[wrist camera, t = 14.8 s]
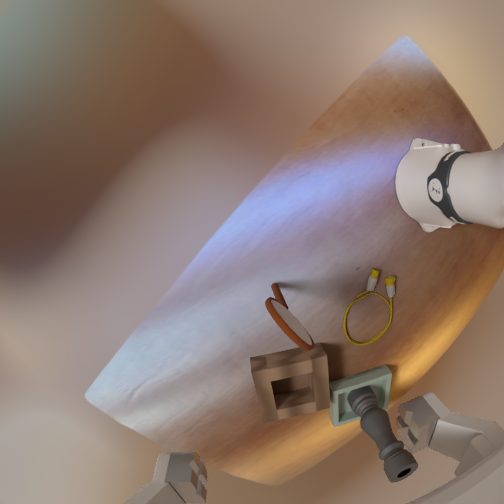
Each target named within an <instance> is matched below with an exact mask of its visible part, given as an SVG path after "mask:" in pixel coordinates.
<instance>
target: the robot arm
mask: <svg viewBox="0 0 504 504" xmlns="http://www.w3.org/2000/svg"><path fill="white" fill-rule="evenodd" d="M422 144H423V146H422ZM396 192H397V196H398V199H399V202H400V204H401V206H402V208H403V209H404V211H405V212H406V213H407V214H408V215H409V216H410V217H412V218H413V219H415V220H416V221H418V222H419V224H420V225H421V227H422V228H423V230H424V231H425V232H432V231H434V230H436V229H438V228H440V227H443V228H451V226H453V225H455V224H457V223H460V224H473V223H477V224H481V225H486V226H490V227H495V228H504V143H503V145H502V146H501V147H499V148H497V149H495V150H491V151H485V152H477V153H472V152H469V151H464V150H463V149H461V146H460V145H459V144H451V145H449V144H441V143H437V142H433V141H429V140H425V139H421V138H415V139H414V140H413V141H412V144H411V147H410V150H409V152H408V153H407V154H406V155H405V156H404V157H403V159H402V160H401V162H400V164H399V166H398V169H397V173H396ZM398 413H399V416H398V417H397V419H396V429H397V431H398V434H399V435H400V437H401V438H404V439H406V442H405V445H406V447H407V448H408V450H409V451H410V453H411V454H413V453H415V452H418V451H420V450H422V449H424V448H426V447H428V446H429V448H431V449H433V450H436V451H438V452H440V453H442V454H444V455H446V456H449V457H451V458H453V459H456V460H458V461H460V463H459V465H458V467H457V468H456V470H455V475H456V476H457V477H456V478H454V479H453V480H451V481H449V482H448V483H446V484H444V485H442V486H441V487H439V488H437V489H435V490H433V491H431V492H430V493H428V494H426V495H424V496H422V497H420V498H418V499H416V500H414V501H412V502H410V503H407V504H504V430H503V429H502V427H500V425H499V424H498V423H497V422H495V421H491V420H486V419H482V418H478V417H474V416H470V415H465V414H462V413H458V412H455V411H453V412H450V411H449V410H448V409H447V408H446V407H445V406H444V405H443V403H442V402H441V401H440V400H439V399H438V398H437V397H436V396H435V394H434V393H433V392H428V393H426V394H424V395H422V396H420V397H417V398H415V399H412V400H410V401H408V402H406V403H403V404H401V405H400V406H399V407H398ZM199 460H200V456H199V454H198V453H197V452H161V453H160V454H159V455H158V459H157V464H156V468H155V472H154V476H153V481H152V482H148V483H147V484H146V485H145V486H144V487H143V488H142V489H140V490H139V491H138V492H137V493H136V494H135V495H134V496H132V497H131V498H130V499H129V500H128V501H126V502H125V503H124V504H186V503H206V494H207V490H206V489H205V487H204V485H205V484H206V483H207V470H206V467H205V465H204V463H203V462H201V461H199Z"/></svg>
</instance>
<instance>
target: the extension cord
mask: <svg viewBox="0 0 504 504" xmlns="http://www.w3.org/2000/svg"><path fill="white" fill-rule="evenodd" d="M371 271H372V272H371V275H369V278H368V283H367V291H365V292H363V293H361V294H359V295H357V296H356V297H355V298H357V297H359V296H361V295H363V294H365V293H367V292H368V291H372V290H374V287H375V286H376V283H377V280H378V275H379V272H380V271H379V270H376V269H375V270H374V269H373V268H372V270H371ZM395 279H396V278H395V277H394V276H392V275H391V276H389V277H385V285H386V289H387V293H388V297H390V303H391V306H390V304H389V302H388V301H387V300H386V299H385V298H384V297H382V296H381V295H379V294H377V293H374V292H373V293H369V294H366V295H364V296H362V297H360V298H359V299H357V300H355V301H353V302H352V303H351V304H350V305H349V306H348V307H347V309H346V312H345V317H344V322H343V329H344V333H345V335H346V337H347V339H348V340H349V341H350V342H351V343H353V344H355V345H366V344H369V343H371V342H373V341H375V340H377V339H378V338H379V337H381V336H382V335H383V334H384V333H385V331H386V330H387V329H388V327H389V325H390V323H391V320H392V297H393V296H394V295H395V291H394V290H396V289H395V286H394V281H395ZM371 294H375V295H378V296H379V297H381V298H382V299H384V300H385V301H386V302H387V304H388V305H389V307H390V311H391V315H390V321H389V323H388V325H387V326H386V327H385V328H384V329H383V330H382V331H381V332H380V333H379V334H378V335H377V336H375V337H374V338H372V339H371V340H369V341H366V342H362V343H359V342H355V341H354V340H352V339H351V338H350V337H349V336H348V335H347V332H346V316H347V313H348V310H349V308H350V307H351V305H352V304H353V303H355V302H357V301H358V300H360V299H362V298H364V297H366V296H368V295H371ZM355 298H354V299H355ZM382 332H383V333H382ZM381 333H382V334H381Z"/></svg>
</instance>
